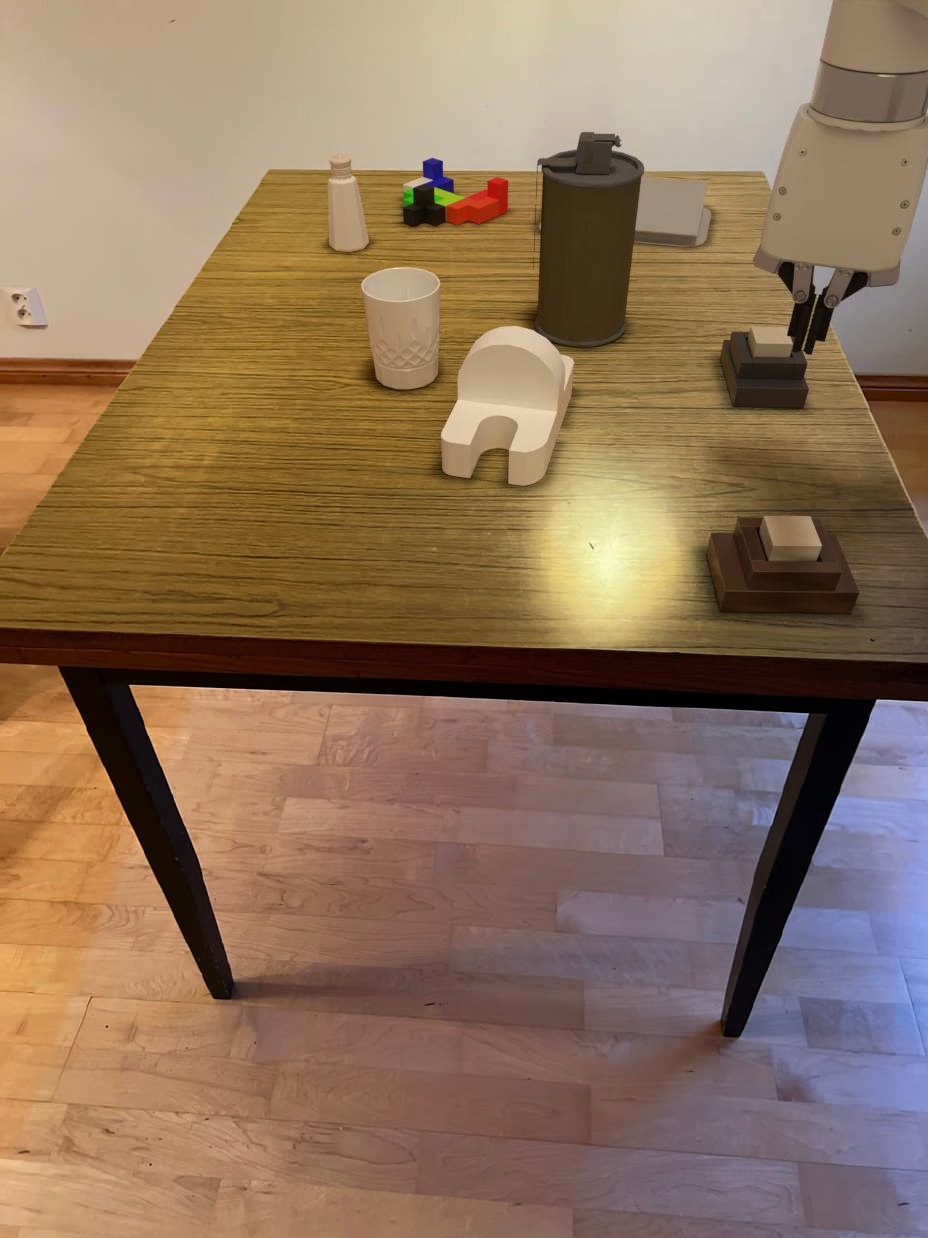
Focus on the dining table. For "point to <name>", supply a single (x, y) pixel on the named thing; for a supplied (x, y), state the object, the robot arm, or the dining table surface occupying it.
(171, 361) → the dining table surface
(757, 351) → the far key
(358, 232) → the salt shaker
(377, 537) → the dining table surface
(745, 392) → the far block
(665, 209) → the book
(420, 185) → the building blocks
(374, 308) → the white cup
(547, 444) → the slotted bracket
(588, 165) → the canister
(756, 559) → the near block
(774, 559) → the near key
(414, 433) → the dining table surface
